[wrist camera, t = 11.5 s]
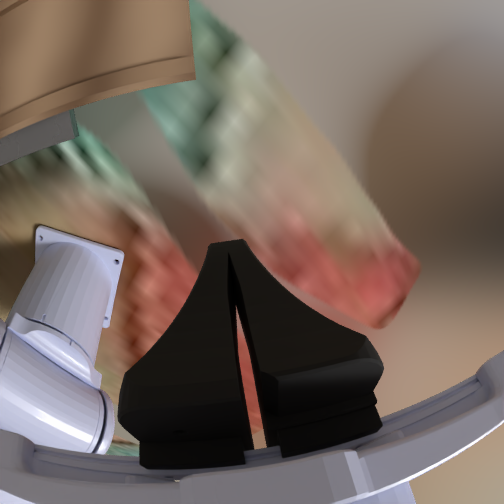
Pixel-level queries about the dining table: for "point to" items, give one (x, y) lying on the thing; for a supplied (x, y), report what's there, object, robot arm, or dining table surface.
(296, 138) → the dining table surface
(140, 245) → the dining table surface
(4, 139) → the pivot stand
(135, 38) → the beam
